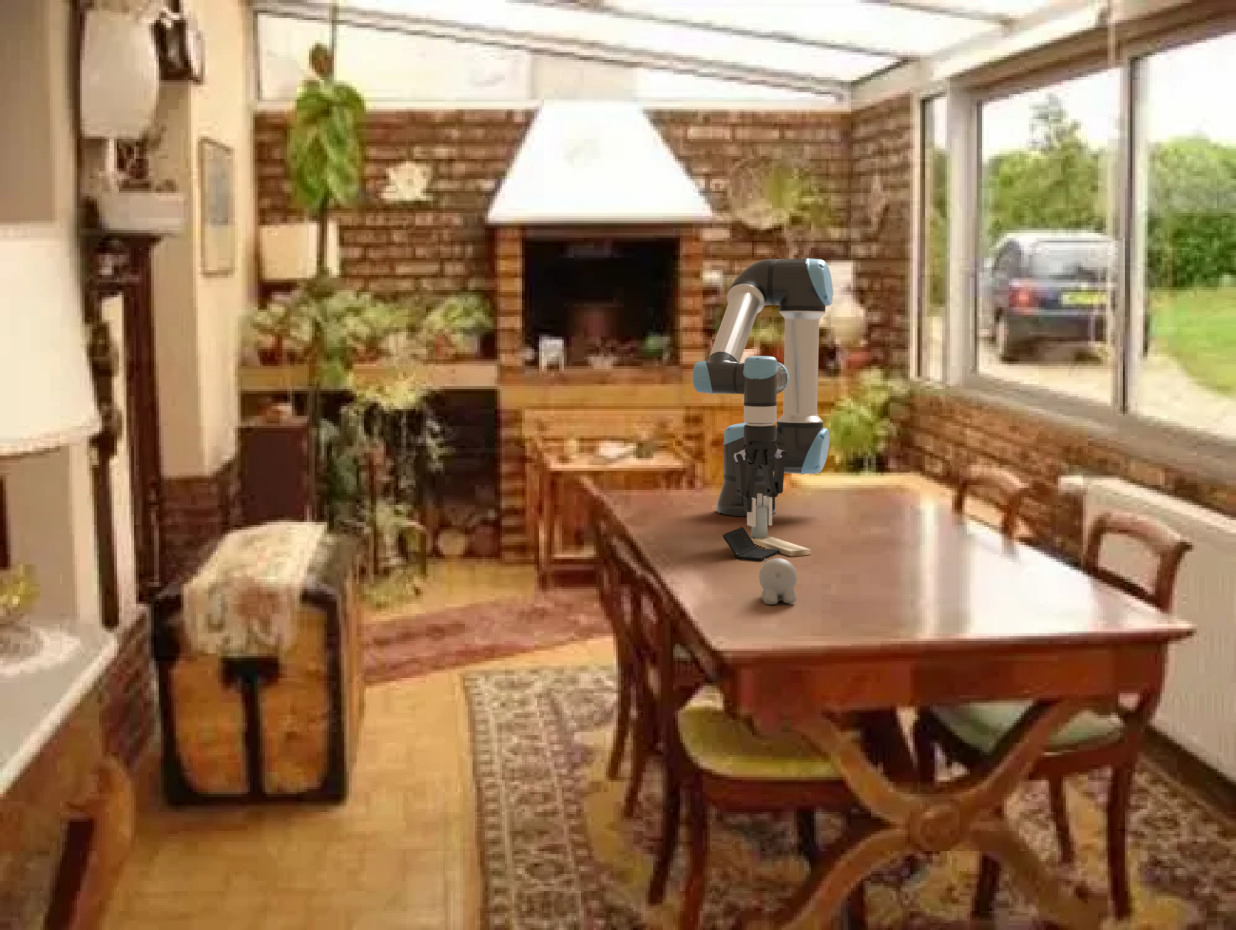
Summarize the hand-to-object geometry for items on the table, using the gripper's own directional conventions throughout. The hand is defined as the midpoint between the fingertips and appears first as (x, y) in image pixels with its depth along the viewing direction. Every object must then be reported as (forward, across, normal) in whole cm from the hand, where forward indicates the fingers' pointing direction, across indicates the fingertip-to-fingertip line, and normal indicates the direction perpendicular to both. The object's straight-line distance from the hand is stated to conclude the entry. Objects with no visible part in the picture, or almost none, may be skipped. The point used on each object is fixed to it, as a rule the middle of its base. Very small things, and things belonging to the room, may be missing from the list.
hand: (759, 525), depth 355 cm
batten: (+4, 0, +8) cm, 9 cm away
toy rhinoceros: (+5, +27, +53) cm, 59 cm away
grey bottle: (+3, 0, 0) cm, 3 cm away
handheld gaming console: (+5, +9, +13) cm, 16 cm away
